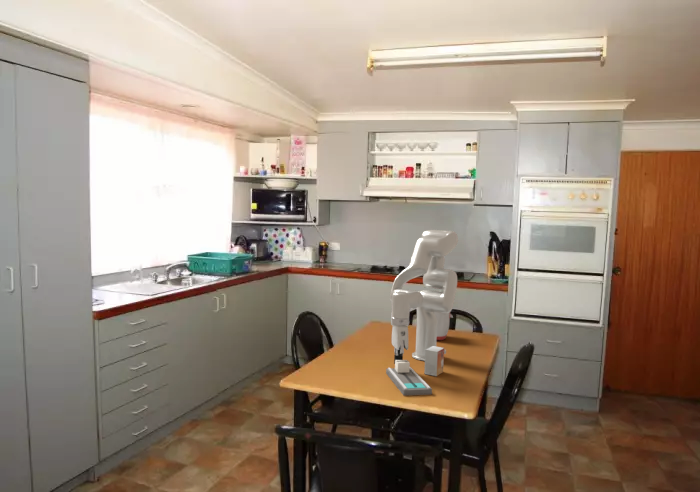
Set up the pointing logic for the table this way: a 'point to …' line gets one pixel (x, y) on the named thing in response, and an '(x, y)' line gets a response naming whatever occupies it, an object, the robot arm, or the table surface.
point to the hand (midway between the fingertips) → (398, 364)
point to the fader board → (409, 382)
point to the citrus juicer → (442, 324)
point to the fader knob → (402, 366)
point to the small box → (434, 360)
